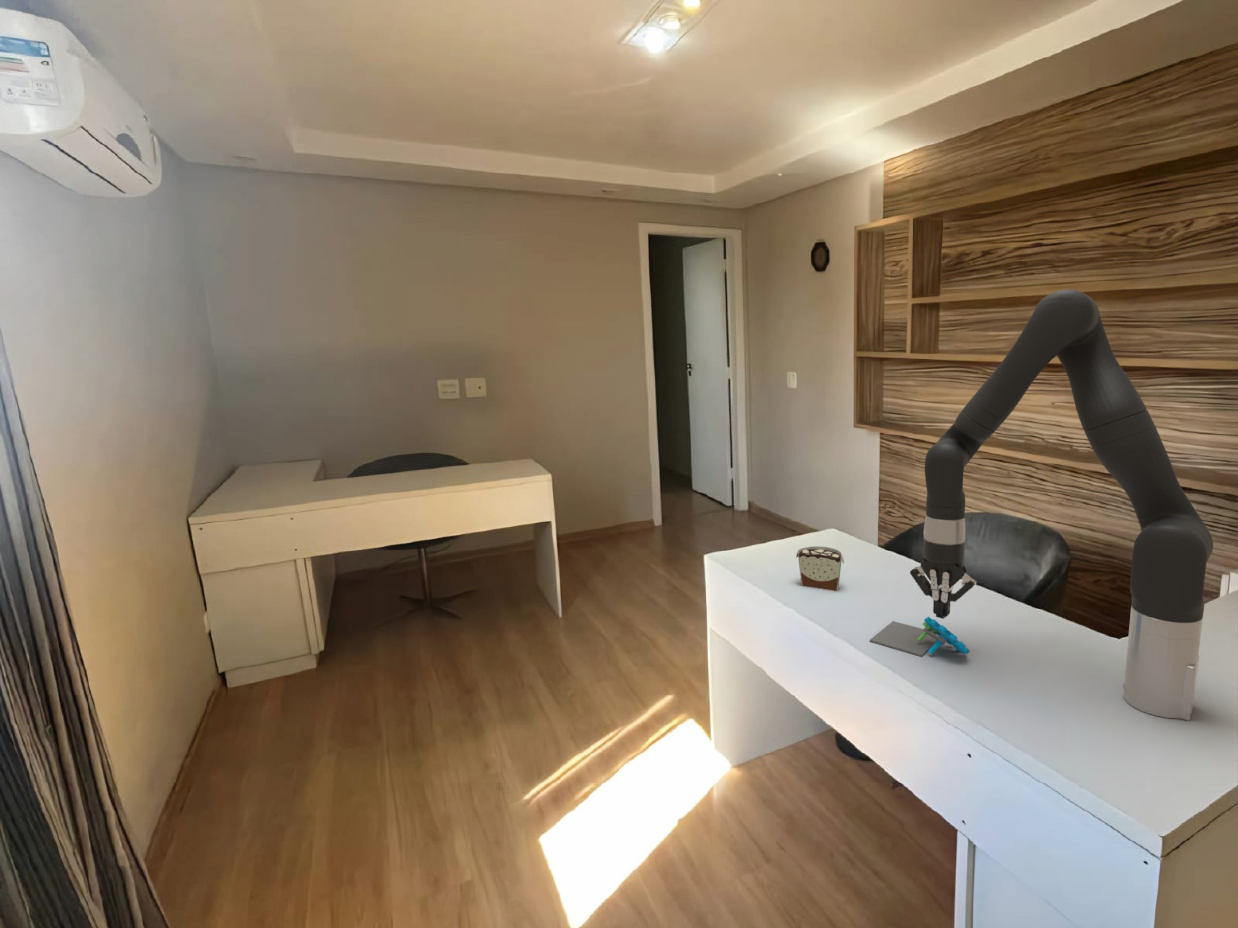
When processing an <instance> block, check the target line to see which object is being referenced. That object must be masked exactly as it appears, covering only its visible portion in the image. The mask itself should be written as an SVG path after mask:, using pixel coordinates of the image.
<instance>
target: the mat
mask: <svg viewBox="0 0 1238 928" xmlns="http://www.w3.org/2000/svg"><path fill="white" fill-rule="evenodd" d="M923 629H924V628H921V627H917V626H913V625H910V624H906V623H902V622H899V621H894V620H892V621H891V622H890V623H889V624H887V625H886V626H885V627H884V628H882V629H881V630H880V631H878V632H877V633H876V634H875V635H873V637H871V638H870V639H869V642H870V643H873V644H875V645H876V644H877V645H880V646H882V647H883V646H884V647H887V648H890V649H892V650H893V649H894V650H896V651H900V652H904V653H907V654H910V655H914V656H918V657H921V658H923V656H925V655H926V653H927V652H928V650H929V649H930V648H931V647H932V646H933V645H934V644H935V643H936V642H937V640H936V639H934V638H933V637H931V636H930V635H928V634H927V635H926V636H925V637H924V638H923V639H922V640H921V641H918V640H917V639H918V638H919V637H920V636H921V635H922V634H923V632H924V631H923ZM931 632H932V631H931ZM932 633H933V632H932ZM933 634H934V633H933ZM934 635H935V634H934ZM936 636H937V637H939V636H938V635H937V634H936Z"/></svg>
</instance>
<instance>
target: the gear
mask: <svg viewBox="0 0 1238 928" xmlns="http://www.w3.org/2000/svg"><path fill="white" fill-rule="evenodd" d="M923 621H924V622H922V625H923V626H924V628H922V629H923V631H924V632H923V634H922V635H921V636H920V637H919V638H918V639H917V640H918V641H921V640H922V639H923V638H924V637H925V636H926V635H927V634H928V635H930V636H931V637H933V638H934V639H936V640H937V642H936V643H935V644H934V645H933V646H932V647H931V648H930V649H929V650H928V651H927V652H928V653H929V654H930V655H933V654H934V653H935V652H936V651H937V650H938V649H939V648H940V647H941V646H942V645H945V644H946V643H947V644H948V645H949V646H953V648H954V650H956V651H957V652H961V653H962V654H963V655H968V654H969V653H970V652H971V650H969V648H968V647H967V645H966V644H965V643H963V641H960V640H958V637H957V635H955V634H954V633H952V632H951V631H950V630H949V629H948V628H947V627H946V626H944V624H940V623H939V622H938V621H937V620H936V619H934V618H931V617H930V616H927V617H926V618H925V619H924V620H923ZM931 631H932V632H933V633H934V634H935V635H934V634H933V633H932V632H931ZM936 634H937V635H938V636H939V637H937V636H936Z"/></svg>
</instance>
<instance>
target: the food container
mask: <svg viewBox="0 0 1238 928" xmlns="http://www.w3.org/2000/svg"><path fill="white" fill-rule="evenodd" d="M795 558H796V559H797V558H798V565H799V576H800V584H801V587H804V588H811V589H817V590H822V591H831V592H836V593H837V592H839V587H840V579H841V578H840V576H841V567H842V564H843V565H844V563H845V560H844V555H843V553H842V551H840V550H838V549H836V548H834V547H828V546H820V545H819V546H818V545H815V546H806V547H802V548H800V549H798V550H797V552H796V555H795Z"/></svg>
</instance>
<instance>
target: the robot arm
mask: <svg viewBox="0 0 1238 928" xmlns="http://www.w3.org/2000/svg"><path fill="white" fill-rule="evenodd" d="M1056 357H1058V360H1059V361H1060V364H1061V365H1062V367H1063V370H1064V372H1066V375H1067V377H1068V381H1069V385H1070V388H1071V393H1072V398H1073V402H1074V406H1075V409H1076V413H1077V416H1078V419H1079V422H1080V424H1081V426H1082V427H1081V428H1082V429H1083V432H1084V434H1085V435H1086V438H1087V440H1088V442H1089V444H1090V447H1091V449H1092V451H1093V452H1094V454H1095V456H1096V458H1097V459H1098V460H1099V462H1100V463H1101V464H1102V466H1103V467H1104V468H1105V469H1106V471H1107V472H1108V473H1109V474H1110V476H1112V477H1113V479H1114V480H1115V481H1116V482H1117V483H1118V485H1119V486H1120V487H1121V488H1122V489H1123V490H1124V492H1125V494H1126V495H1127V497H1128V499H1129V501H1130V503H1131V506H1132V508H1133V509H1134V512H1135V515H1136V517H1137V520H1138V524H1139V526H1140V530H1141V531H1140V532H1139V533H1138V534H1137V536H1136V538H1135V540H1134V543H1133V547H1132V555H1131V556H1132V558H1131V569H1130V582H1129V583H1130V586H1129V587H1130V594H1131V607H1130V618H1129V625H1128V626H1129V628H1128V637H1127V638H1128V639H1127V647H1126V648H1127V649H1126V660H1125V670H1124V682H1123V692H1122V695H1123V696H1122V697H1123V700H1124V701H1125V702H1126V703H1127V704H1128V705H1130V706H1131V707H1133V708H1135V709H1137V710H1138V711H1140V712H1143V713H1146V714H1149V715H1152V716H1156V717H1159V718H1166V719H1177V720H1178V719H1179V720H1185V721H1191V718H1192V713H1193V709H1194V706H1195V704H1194V703H1195V696H1196V695H1195V694H1196V687H1197V680H1198V669H1199V661H1200V655H1199V652H1200V643H1201V635H1202V628H1203V627H1202V626H1203V620H1204V619H1203V618H1204V611H1205V610H1204V609H1205V602H1204V588H1205V578H1206V569H1207V563H1208V560H1209V558H1210V557H1211V555H1212V553H1213V549H1214V541H1213V536H1212V533H1211V532H1210V530H1209V529H1208V527H1207V526H1206V524H1205V522H1204V521H1203V519H1202V518H1201V516H1200V515H1199V513H1198V511H1196V509H1195V507H1194V506H1193V504H1192V502H1191V500H1190V499H1189V497H1188V496H1187V494H1186V493H1185V491H1184V490H1183V488H1182V486H1181V484H1180V482H1179V481H1178V478H1177V475H1176V473H1175V471H1174V467H1173V466H1172V462H1171V460H1170V458H1169V455H1168V453H1167V450H1166V447H1165V446H1164V443H1163V441H1162V439H1161V437H1160V434H1159V431H1158V429H1157V427H1156V425H1155V422H1154V420H1153V419H1152V417H1151V415H1150V412H1149V411H1148V408H1147V407H1146V405H1145V403H1144V401H1143V399H1142V398H1141V396H1140V394H1139V392H1138V391H1137V388H1135V386H1134V384H1133V382H1132V381H1131V380H1130V377H1128V374H1127V373H1126V372H1125V370H1124V369H1123V368H1122V366H1121V364H1120V363H1119V361H1118V359H1117V358H1116V355H1115V354H1114V352H1113V350H1112V347H1111V344H1110V342H1109V339H1108V335H1107V333H1106V331H1105V328H1104V324H1103V321H1102V317H1101V313H1100V310H1099V307H1098V304H1097V303H1096V302H1095V300H1094V299H1093V298H1092V297H1091V296H1090V295H1088V294H1086V293H1084V292H1082V291H1080V290H1076V289H1060V290H1056V291H1054V292H1051V293H1049V294H1047V295H1046V296H1044V297H1043V298H1042V299H1041V300H1040V301H1039V302H1038V303H1037V305H1036V306H1035V308H1034V310H1033V311H1032V314H1031V316H1030V317H1029V319H1028V321H1027V323H1026V324H1025V326H1024V328H1023V329H1022V331H1021V333H1020V335H1019V336H1018V338H1017V340H1016V341H1015V343H1014V344H1013V345H1012V347H1011V348H1010V350H1009V351H1008V353H1007V355H1005V357H1004V358H1003V360H1002V361H1001V362H1000V364H998V366H997V367H996V369H995V370H994V371H993V372H992V373H991V374H990V376H989V377H988V378H987V379H986V381H985V382H984V383H983V384H982V385H981V386H980V387H979V389H978V390H977V391H976V393H975V394H973V396H971V398H970V399H969V401H968V402H967V403H966V404H965V406H964V407H963V408H962V410H960V412H959V414H958V415H957V417H956V418H955V420H954V422H953V423H952V425H951V426H950V427H949V428H948V429H947V430H946V432H945V433H944V434H943V435H942V436H941V437H940V438H939V439H938V440H937V441H936V443H934V445H932V446H931V447H930V448H929V449H928V450H927V452H926V454H925V459H924V477H925V479H924V480H925V486H926V487H925V488H926V492H927V493H926V503H925V518H924V519H925V520H924V525H923V531H922V532H923V533H922V534H923V549H922V550H923V551H922V552H923V553H922V557H923V558H922V561H921V562H920V565H919V566H915V567H913V568H912V569H911V570H910V571H909V574H910V575H911V577H912V578H913V580H914V581H915V583H916V584H917V586H918V587H919V589H920V590H921V591H922V593H923V595H924V596H927V597H928V596H929V597H931V598H932V599H933V601H932V602H933V607H932V609H933V610H932V612H933V614H935V617H936V618H939V619H942V620H943V619H946V618H947V617H948V616H949V615H950V613H951V602H953V603H955V602H957V601H958V600H959V599H960V598H962V597H963V596H965V594H966V593H968V592H969V591H970V590H971V589H972V588H974V586H975V585H977V584H978V579H976V578H975V577H973V578H972V577H971V576H970V575H969V574H967V569H966V566H965V554H966V553H965V551H966V547H965V546H966V533H967V531H966V529H967V528H966V518H965V517H966V516H965V515H966V494H965V493H966V492H965V491H964V490H963V487H964V470H965V467H966V466H967V465H968V464H969V462H970V461H971V459H972V458H973V457H974V456H975V454H976V453H977V452H978V451H979V450H980V448H981V447H982V445H983V444H984V443H985V441H986V440H988V439H990V437H991V436H993V435H994V433H995V432H996V431H997V430H998V429H999V428H1000V426H1001V425H1003V423H1004V422H1005V420H1007V418H1008V417H1009V416H1010V415H1011V413H1012V412H1013V411H1014V410H1015V408H1016V407H1017V405H1019V403H1020V402H1021V400H1022V398H1023V397H1024V396H1025V394H1026V392H1027V391H1028V390H1029V388H1030V387H1031V385H1032V384H1033V382H1034V381H1035V380H1036V378H1037V377H1038V376H1040V374H1041V372H1042V371H1043V370H1044V369H1045V368H1046V366H1048V364H1049V363H1051V361H1052V360H1053V359H1054V358H1056ZM925 575H926V576H925ZM960 580H962V581H961V586H962V587H960V588H959V589H958V590H957V591H956V592H954V593H953V589H954V586H955V585H956V584H957V583H958V582H959V581H960Z"/></svg>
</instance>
